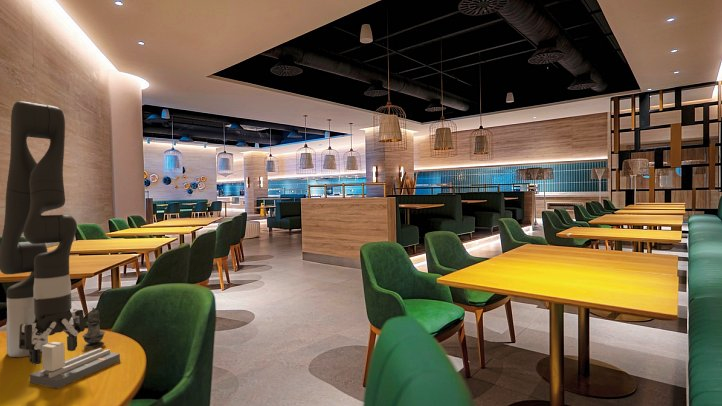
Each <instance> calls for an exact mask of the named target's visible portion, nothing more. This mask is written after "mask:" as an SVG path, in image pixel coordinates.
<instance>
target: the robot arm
mask: <svg viewBox="0 0 722 406" xmlns="http://www.w3.org/2000/svg"><path fill="white" fill-rule="evenodd" d="M65 137H66V120H65V114H64V112H63V110H62V108H60V107H57V106H53V105H49V104H48V105H47V104H42V103H35V102H30V101H29V102H28V101H24V100H23V101H21V100H18V101H16V102H15V103H14V104H13V106H12V109H11V116H10V155H9V168H8V175H7V180H6V191H5V192H6V193H5V205H4V206H5V210H4V222H3V223H4V224H3V228H2V230H3V231H2V236H1V240H0V273H2V274H4V275H16V274H18V275H19V274H25V273H30V274H29V275H28V276H27V277H26V278H24V279H23V280H21V281H18V282H17V283H15V284H13V285H10V286H9V287H7V289H6V309H7V310H6V317H7V318H6V319H7V321H6V323H5V326H6V327H5V328H6V329H5V330H6V354H7V356H8V357H10V358H21V357H23V358H24V357H29V359H28V361H29V363H31V364H32V365H40V364H41V363H42V361H41V360H42V358H41V357H42V356H41V355H42V346H43V345H46V344H48V343H49V341H48V337H49V336H53V335H55V334H57V333H62V332H64V333H65V334H66V335H67V336H66V350H67V351H68V352H75V351H76V348H77V347H78V335H79V334H80V333H81V332H84V331H85V329H86V328H85V326H86V325H85V316H84V315H85V314H84V310H83V309H81V308H79V309H78V308H74V309H72V283H71V277H70V257H71V249H72V246H73V242H74V240H75V236H76V233H77V229H78V223H77V221H76V219H75V218H74V217H73V216H72V215H70V214H48V215H47V214H44V213H46V212H48V211H53V210H57V209H60V208H62V207H63V206H64V205H65V203H66V195H65V194H66V192H65V185H64V176H63V175H64V159H65V158H64V156H65ZM28 138H34V139H45V140H49V147H48V149H47V151H46V152H45V154H44V155H43V156H42V157H41V158H40V159H39V161H38V162H37V161H36V160H35V158H34V157H33V154H32V152H31V151H30V149H29V147H28V142H27V141H28V140H27V139H28ZM43 214H44V215H43ZM22 235H23V236H24V239H25V240H26V241H21V242H20V239H21V237H22ZM52 243H59V244H58V246H57V247H55V248H54V249H52V250H50V251H48V247H47V244H52ZM71 309H72V311H71ZM71 319H72V321H73V325H72V324H71V322H70V321H71Z"/></svg>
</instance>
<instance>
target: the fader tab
mask: <svg viewBox="0 0 722 406" xmlns="http://www.w3.org/2000/svg"><path fill="white" fill-rule="evenodd" d="M41 355H42V356H41V357H42V358H41V360H42V361H41V363H42V370H43V369H44V370H45V374H47V375H49V373H51V372H53V371H56V370H58V369H60V368H62V367H64V366H65V361H66V359H65V357H66V356H65V343H64V342H61V341H60V342H58V341H51V342H48V344H46V345H43V346H42V352H41Z"/></svg>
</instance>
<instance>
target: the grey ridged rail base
mask: <svg viewBox="0 0 722 406" xmlns="http://www.w3.org/2000/svg"><path fill="white" fill-rule="evenodd" d="M120 355H121V354H120V353H116V352H113V351H111V349H110V348H109V349H105V350H103V348H102V347H98V348H96V349H95V348H93V349H91V350H89V351H85V352H84V353H81V354H78V355H76V356H74V357H71V358H68V359H65V366H64V367H62V368H60V369H58V370H56V371H53V372H51V373H49V375H47V374H45V370H44V369H43V368H42V369H41V370H38V371H35V372H33V373H30V374H29V383H30V384H37V385H39V386H44V387H49V388H54V389H58V390H59V389H60V388H62V387H65V386H66V385H68V384H72V383H73V381H74V382H75V380H76V381H78V380H80V379H82V378H84V376H85V377H87V376H88V375H92V374H93V373H97V372H98V371H100V370H103V369H105V368H106V367H109V366H111V365H113V364H116V363H118V362H119V361H121V356H120ZM86 375H87V376H86ZM81 377H82V378H81ZM79 378H80V379H79ZM77 379H78V380H77Z"/></svg>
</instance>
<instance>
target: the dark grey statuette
mask: <svg viewBox="0 0 722 406" xmlns="http://www.w3.org/2000/svg"><path fill="white" fill-rule="evenodd" d="M100 322H101V320H100V312H99V311H98V310H96V309H95V307H93V306H92V309H91V310H90V311H89V312H88V313H87V322H86V324H87V332H86V333H83V334H82V338H83V340H84V342H85V343H86V344H84V346H83V348H84V349H89V350H90V349H95V348H96V349H97V348H101V347H102V346H103V345H104V344H105V342H103V341H102V340H103V338H104V337H105V334H106V332H105V331H104V330H101V328H100Z"/></svg>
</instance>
